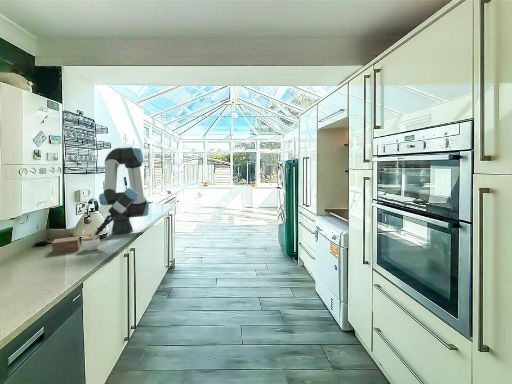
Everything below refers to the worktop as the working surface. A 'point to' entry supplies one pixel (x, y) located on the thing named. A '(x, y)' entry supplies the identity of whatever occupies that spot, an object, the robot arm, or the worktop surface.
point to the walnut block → (66, 245)
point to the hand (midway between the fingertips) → (93, 236)
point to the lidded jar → (90, 242)
